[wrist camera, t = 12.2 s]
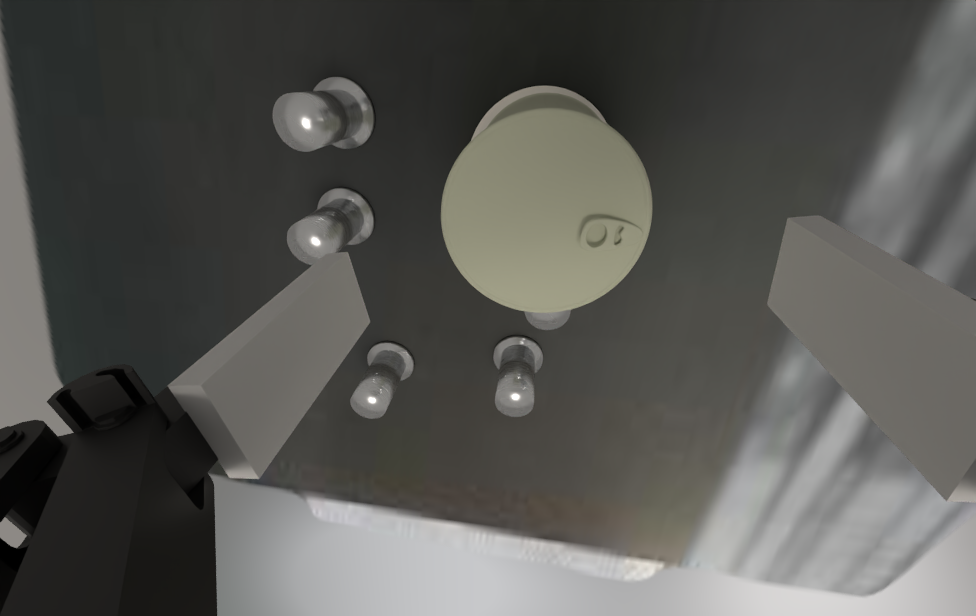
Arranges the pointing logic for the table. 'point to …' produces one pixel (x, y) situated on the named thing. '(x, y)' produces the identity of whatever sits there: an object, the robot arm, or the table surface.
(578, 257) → the can
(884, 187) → the table surface
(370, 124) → the posts
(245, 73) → the table surface
